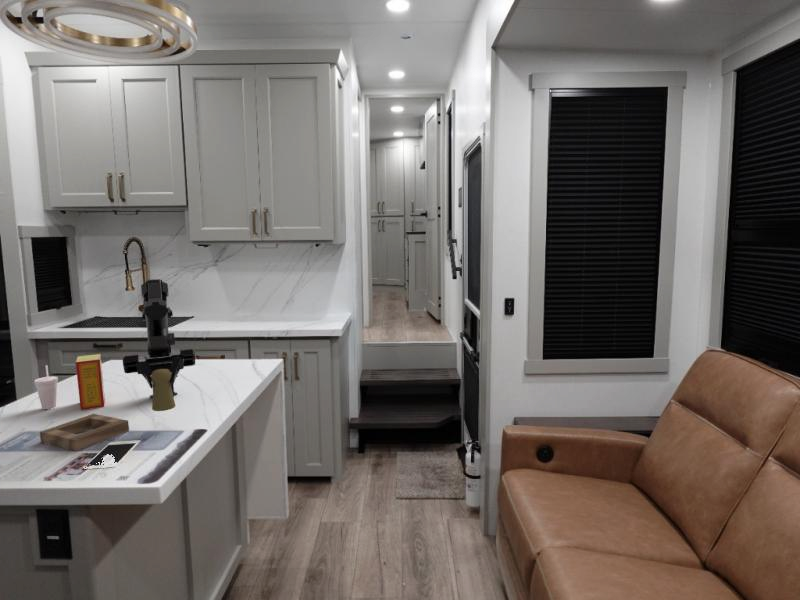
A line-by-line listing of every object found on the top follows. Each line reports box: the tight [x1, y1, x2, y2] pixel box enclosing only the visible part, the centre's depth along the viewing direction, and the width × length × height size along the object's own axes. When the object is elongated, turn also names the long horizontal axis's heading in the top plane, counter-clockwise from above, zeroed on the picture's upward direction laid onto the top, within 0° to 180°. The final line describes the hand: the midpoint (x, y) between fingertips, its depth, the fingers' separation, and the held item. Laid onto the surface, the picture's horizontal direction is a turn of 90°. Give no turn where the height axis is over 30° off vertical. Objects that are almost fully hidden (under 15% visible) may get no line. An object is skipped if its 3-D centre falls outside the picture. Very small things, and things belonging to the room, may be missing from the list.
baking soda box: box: [75, 353, 106, 411], centre depth 168 cm, size 10×6×16 cm
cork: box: [151, 369, 176, 412], centre depth 145 cm, size 6×6×11 cm
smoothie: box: [33, 364, 59, 410], centre depth 166 cm, size 6×6×14 cm
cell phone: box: [82, 439, 141, 469], centre depth 130 cm, size 8×16×1 cm, turn 7°
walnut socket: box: [39, 413, 130, 452], centre depth 142 cm, size 15×15×3 cm
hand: (162, 386), depth 144 cm, fingers closed on cork, 5 cm apart
